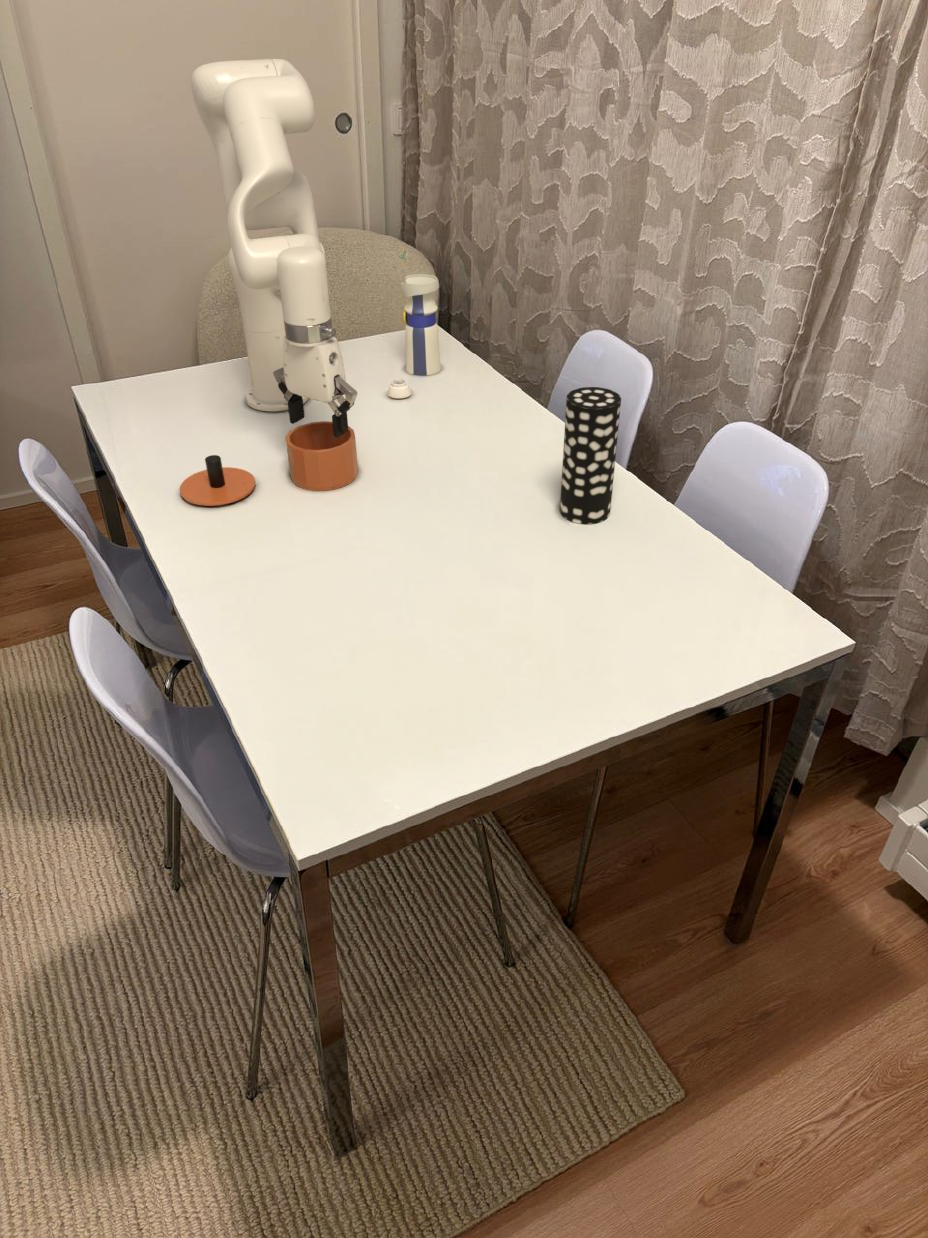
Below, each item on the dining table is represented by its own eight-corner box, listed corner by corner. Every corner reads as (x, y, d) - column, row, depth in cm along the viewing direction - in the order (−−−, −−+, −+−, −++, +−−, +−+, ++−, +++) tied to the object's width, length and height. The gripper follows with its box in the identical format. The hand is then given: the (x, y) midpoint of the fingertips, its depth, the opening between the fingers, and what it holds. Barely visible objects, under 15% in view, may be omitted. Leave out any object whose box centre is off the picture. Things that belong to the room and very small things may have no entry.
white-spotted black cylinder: (616, 504, 157) (628, 392, 145) (601, 528, 151) (611, 412, 139) (569, 494, 160) (577, 383, 148) (552, 517, 154) (558, 403, 142)
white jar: (386, 400, 192) (411, 400, 192) (385, 386, 190) (410, 386, 190) (388, 390, 196) (412, 390, 196) (387, 376, 194) (411, 376, 194)
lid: (218, 466, 169) (212, 435, 166) (271, 484, 164) (266, 452, 160) (164, 496, 161) (157, 464, 157) (219, 516, 155) (212, 483, 151)
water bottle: (399, 375, 202) (393, 255, 187) (408, 360, 209) (402, 243, 194) (437, 377, 201) (433, 257, 186) (444, 362, 208) (441, 245, 193)
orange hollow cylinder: (320, 453, 173) (316, 415, 168) (371, 469, 168) (368, 431, 163) (277, 479, 165) (271, 440, 160) (329, 497, 160) (324, 457, 155)
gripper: (365, 332, 149) (372, 431, 160) (283, 312, 157) (295, 407, 167) (335, 347, 144) (344, 448, 155) (252, 326, 152) (266, 423, 162)
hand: (319, 427), depth 161 cm, fingers open, 9 cm apart
